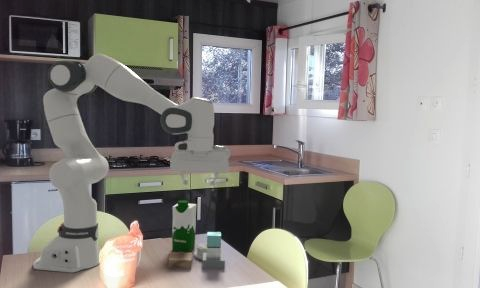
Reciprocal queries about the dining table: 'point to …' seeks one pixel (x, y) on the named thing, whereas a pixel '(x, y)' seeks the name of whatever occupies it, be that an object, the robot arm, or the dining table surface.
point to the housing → (213, 245)
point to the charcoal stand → (213, 262)
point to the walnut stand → (180, 260)
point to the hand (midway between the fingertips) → (199, 184)
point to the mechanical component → (200, 251)
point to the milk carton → (183, 226)
